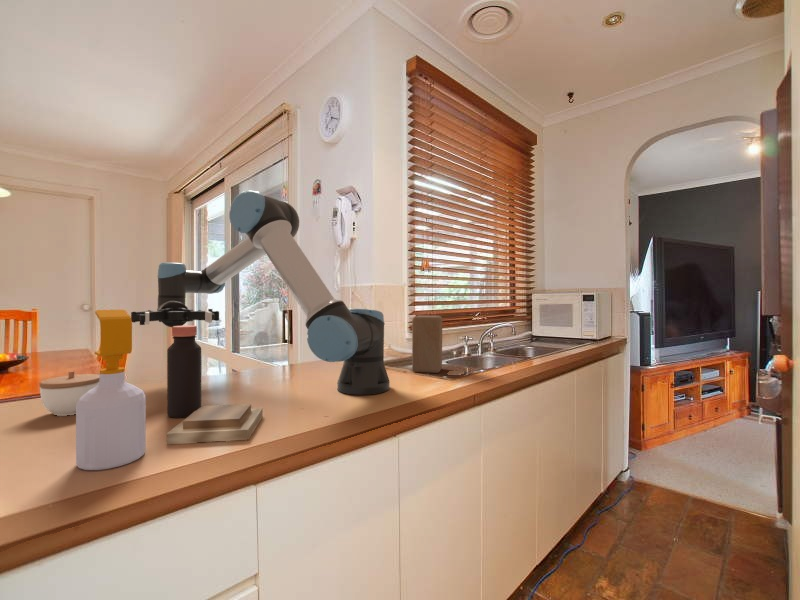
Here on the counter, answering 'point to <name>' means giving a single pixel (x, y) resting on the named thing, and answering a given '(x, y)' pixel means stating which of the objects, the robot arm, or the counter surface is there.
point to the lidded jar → (66, 392)
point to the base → (215, 432)
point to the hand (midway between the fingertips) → (180, 318)
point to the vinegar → (183, 373)
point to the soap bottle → (111, 404)
